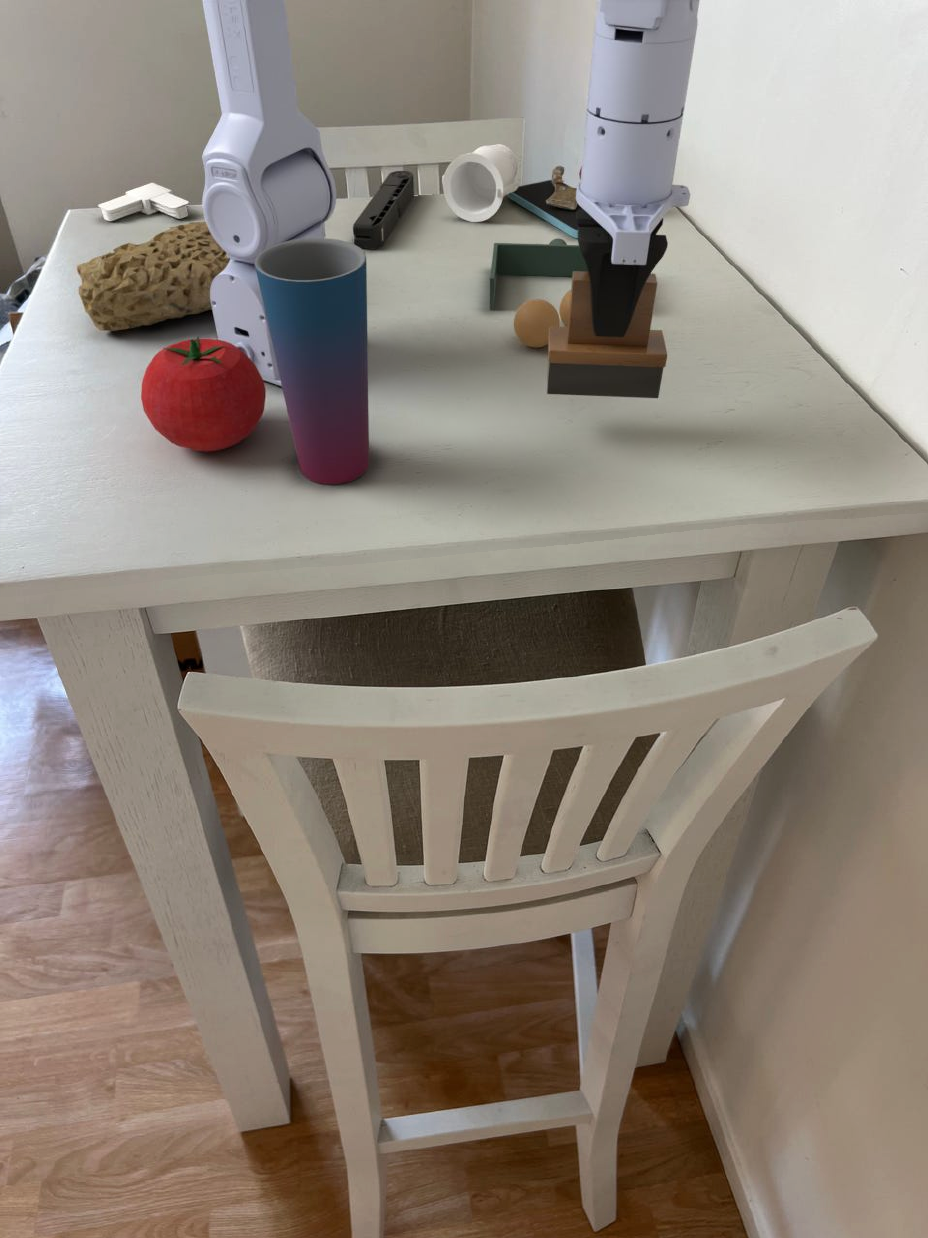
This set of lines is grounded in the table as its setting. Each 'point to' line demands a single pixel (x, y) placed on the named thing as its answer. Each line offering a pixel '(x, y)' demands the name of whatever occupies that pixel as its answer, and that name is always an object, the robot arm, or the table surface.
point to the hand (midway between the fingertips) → (608, 327)
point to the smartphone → (546, 206)
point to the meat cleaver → (562, 191)
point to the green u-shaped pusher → (534, 261)
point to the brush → (606, 350)
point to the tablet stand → (384, 210)
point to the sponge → (152, 278)
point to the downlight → (480, 182)
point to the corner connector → (145, 203)
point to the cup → (321, 351)
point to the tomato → (203, 394)
